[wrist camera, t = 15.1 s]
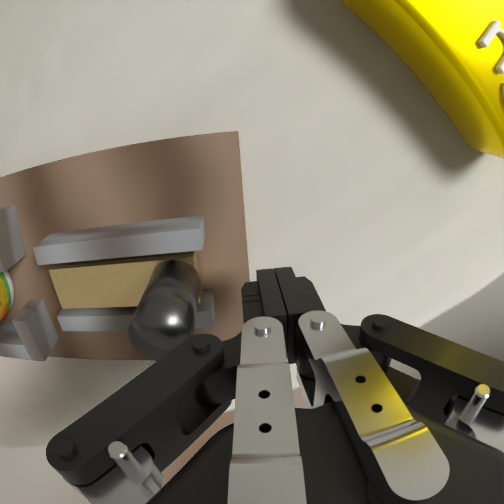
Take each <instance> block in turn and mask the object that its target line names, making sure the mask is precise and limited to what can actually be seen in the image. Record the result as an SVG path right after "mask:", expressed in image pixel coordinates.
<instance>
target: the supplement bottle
mask: <svg viewBox="0 0 504 504" xmlns="http://www.w3.org/2000/svg"><path fill="white" fill-rule="evenodd" d="M13 302H14V288H13V284H12V280H11V277H10V275H9V273H8V271H6V272H0V321H1V320H2V319H3V318H4V317H5V316H6V314H7V313H8V312H9V311H10V309H11V307H12V305H13Z"/></svg>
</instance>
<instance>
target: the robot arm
mask: <svg viewBox="0 0 504 504" xmlns="http://www.w3.org/2000/svg"><path fill="white" fill-rule="evenodd" d="M256 273H257V281H254V282H245V284H244V285H243V287H242V288H241V295H242V308H243V321H244V325H243V327H242V331H241V332H240V333H239V334H238V335H237V336H235V337H233V338H231V339H228V340H225V341H221V340H220V339H219V338H218V337H217V336H215V335H212V334H197V335H193V336H191V337H189V338H187V339H186V340H185V341H183V342H182V343H181V344H179V345H178V346H177V347H175V348H174V349H173V350H171V351H170V352H169V353H167V354H166V355H165V356H164V357H162V358H161V359H160V360H158V361H157V362H156V363H154V364H153V365H152V366H150V367H149V368H148V369H146V370H145V371H144V372H142V373H141V374H140V375H138V376H137V377H136V378H134V379H133V380H131V381H130V382H129V383H127V384H126V385H125V386H123V387H122V388H121V389H119V390H118V391H117V392H115V393H114V394H112V395H111V396H110V397H108V398H107V399H106V400H104V401H103V402H101V403H100V404H99V405H97V406H96V407H95V408H93V409H92V410H90V411H89V412H88V413H86V414H85V415H83V416H82V417H81V418H79V419H78V420H76V421H75V422H74V423H72V424H71V425H69V426H68V427H67V428H65V429H64V430H62V431H61V432H59V433H58V434H57V435H55V436H54V437H53V438H52V439H51V440H50V442H49V443H48V445H47V448H46V456H47V460H48V462H49V463H50V465H51V466H52V467H53V468H54V469H55V470H56V471H58V473H60V474H61V475H62V476H63V478H64V479H65V480H66V482H68V483H69V484H70V485H71V486H72V487H73V488H74V489H76V490H77V491H78V492H79V493H80V494H81V495H83V496H84V497H85V498H87V499H88V500H89V501H90V503H91V504H504V362H503V361H500V360H497V359H495V358H492V357H490V356H487V355H485V354H482V353H480V352H477V351H475V350H472V349H470V348H467V347H465V346H462V345H460V344H457V343H454V342H452V341H449V340H447V339H444V338H442V337H439V336H437V335H434V334H432V333H429V332H426V331H424V330H422V329H419V328H417V327H414V326H412V325H409V324H407V323H404V322H402V321H399V320H397V319H394V318H392V317H389V316H386V315H381V314H374V315H370V316H367V317H365V318H364V319H363V320H362V322H361V326H351V325H343V324H340V323H339V321H338V320H337V318H336V317H335V316H334V315H333V314H331V313H329V312H326V310H325V308H324V306H323V304H322V302H321V300H320V298H319V296H318V294H317V292H316V290H315V287H314V285H313V283H312V282H311V281H310V280H308V279H307V278H306V277H295V274H294V272H293V270H292V267H283V268H274V269H262V270H256ZM287 359H288V362H287ZM391 359H394V360H397V361H399V362H402V363H403V364H406V365H408V366H410V367H412V368H414V369H416V370H418V371H419V373H420V374H421V380H418V379H415V378H413V377H411V376H409V375H406V374H405V373H402V372H400V371H398V370H396V369H394V368H392V367H389V366H390V362H391ZM292 363H296V365H297V380H298V383H299V386H300V388H301V391H302V394H303V397H304V399H305V402H306V405H307V408H308V409H302V408H295V407H294V398H293V390H292V382H291V374H290V366H289V364H292ZM233 399H235V415H234V423H233V424H231V425H228V426H227V427H225V428H223V429H221V430H220V431H218V432H217V433H216V434H215V435H214V436H212V437H211V438H210V439H209V440H208V441H207V442H206V443H205V445H203V447H202V448H201V449H200V450H199V451H198V452H197V453H196V454H195V455H194V456H193V457H192V458H191V459H190V460H189V461H188V462H187V464H185V466H184V467H183V468H182V469H181V470H180V471H179V472H178V473H177V474H176V475H175V476H174V477H173V478H172V479H171V480H170V481H169V482H168V483H167V484H166V485H165V486H163V488H162V485H163V475H162V471H163V470H164V469H165V468H166V467H167V466H169V465H170V464H171V463H172V462H173V461H174V460H175V459H176V458H177V457H178V456H179V455H181V454H182V453H183V451H185V450H186V449H187V448H188V447H189V446H190V445H191V444H192V443H193V442H194V441H195V440H196V439H197V438H198V437H199V436H200V435H201V434H202V433H203V432H204V431H205V430H206V429H208V428H209V427H210V425H212V424H213V422H215V420H216V419H217V418H218V417H219V416H220V415H221V414H222V413H223V412H224V411H225V410H226V409H227V408H228V407H229V406H230V404H231V401H232V400H233Z"/></svg>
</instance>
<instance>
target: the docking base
mask: <svg viewBox="0 0 504 504" xmlns="http://www.w3.org/2000/svg"><path fill="white" fill-rule="evenodd" d="M188 251H197V252H198V259H199V265H200V272H201V279H202V285H203V288H202V295H201V301H200V303H198V309H197V315H196V322H195V329H194V335H197V334H212V335H215V336H217V337H218V338H219V339H220V340H221V341H225V340H228V339H231V338H233V337H235V336H237V335H238V334H239V333H240V332H241V331H242V327H243V325H244V321H243V308H242V295H241V288H242V287H243V285H244V284H245V282H250V280H249V267H248V254H247V241H246V228H245V215H244V202H243V189H242V176H241V163H240V149H239V136H238V131H234V132H223V133H212V134H203V135H194V136H186V137H178V138H171V139H164V140H157V141H150V142H144V143H138V144H132V145H127V146H121V147H116V148H111V149H106V150H101V151H97V152H92V153H87V154H83V155H79V156H74V157H70V158H66V159H62V160H58V161H54V162H51V163H47V164H43V165H40V166H36V167H33V168H29V169H26V170H22V171H19V172H16V173H13V174H10V175H7V176H3V177H0V272H6V271H8V273H9V275H10V277H11V280H12V284H13V288H14V302H13V305H12V307H11V309H10V311H9V312H8V313H7V314H6V316H5V317H4V318H3V319H2V320H1V321H0V356H4V357H11V358H19V359H27V360H36V361H45V360H46V358H47V357H48V356H51V357H65V358H83V359H111V360H151V359H149V358H147V357H145V356H143V355H142V354H140V353H139V352H138V351H137V350H136V349H135V348H134V346H133V345H132V343H131V341H130V339H129V336H128V328H129V325H130V322H131V320H132V318H133V315H134V313H135V311H136V308H137V306H132V307H107V308H73V309H62V306H61V304H60V301H59V298H58V296H57V293H56V290H55V287H54V284H53V281H52V278H51V275H50V272H49V269H50V268H51V267H52V266H53V265H54V264H57V263H67V262H78V261H89V260H99V259H110V258H121V257H132V256H143V255H154V254H165V253H177V252H188Z"/></svg>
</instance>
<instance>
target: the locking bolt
mask: <svg viewBox="0 0 504 504" xmlns="http://www.w3.org/2000/svg"><path fill="white" fill-rule="evenodd" d="M49 272H50V275H51V278H52V281H53V284H54V287H55V290H56V293H57V296H58V298H59V301H60V304H61V306H62V309H73V308H107V307H132V306H137V308H136V311H135V313H134V315H133V318H132V320H131V322H130V325H129V328H128V336H129V339H130V341H131V343H132V345H133V346H134V348H135V349H136V350H137V351H138V352H139V353H140V354H142V355H143V356H145V357H147V358H149V359H151V360H154V361H158V360H160V359H161V358H162V357H164V356H165V355H166V354H167V353H169V352H170V351H171V350H173V349H174V348H175V347H177V346H178V345H179V344H181V343H182V342H183V341H185V340H186V339H187V338H189V337H191V336H193V335H194V329H195V322H196V315H197V309H198V303H200V301H201V295H202V288H203V285H202V279H201V272H200V265H199V259H198V252H197V251H188V252H177V253H165V254H154V255H143V256H132V257H121V258H110V259H99V260H89V261H78V262H67V263H57V264H54V265H53V266H52V267H51V268H50V269H49Z"/></svg>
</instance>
